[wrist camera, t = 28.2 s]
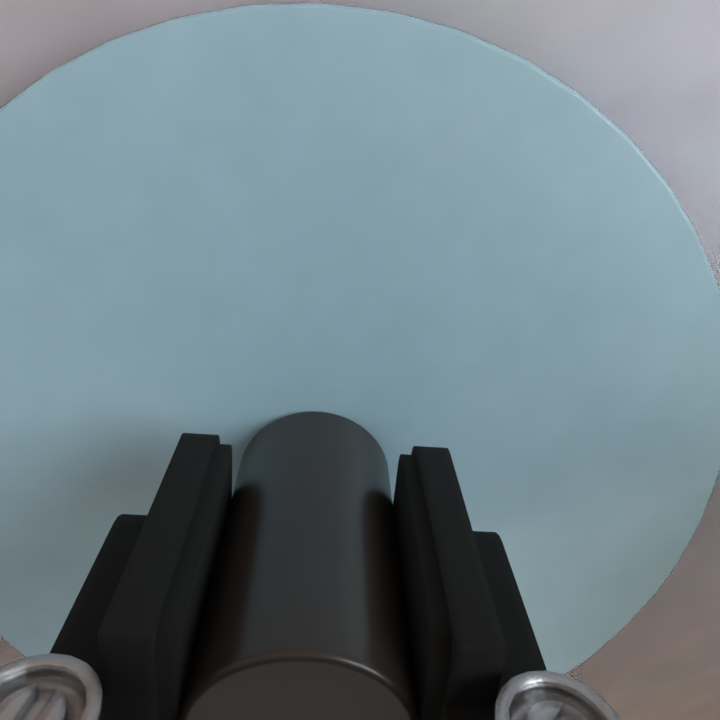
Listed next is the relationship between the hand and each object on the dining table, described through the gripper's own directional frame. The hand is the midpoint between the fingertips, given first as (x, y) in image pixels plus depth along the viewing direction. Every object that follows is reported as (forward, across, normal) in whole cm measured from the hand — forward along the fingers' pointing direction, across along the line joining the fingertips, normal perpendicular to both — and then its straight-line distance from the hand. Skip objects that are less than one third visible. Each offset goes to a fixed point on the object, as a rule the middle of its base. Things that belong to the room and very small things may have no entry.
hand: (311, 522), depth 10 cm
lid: (+2, 0, 0) cm, 2 cm away
